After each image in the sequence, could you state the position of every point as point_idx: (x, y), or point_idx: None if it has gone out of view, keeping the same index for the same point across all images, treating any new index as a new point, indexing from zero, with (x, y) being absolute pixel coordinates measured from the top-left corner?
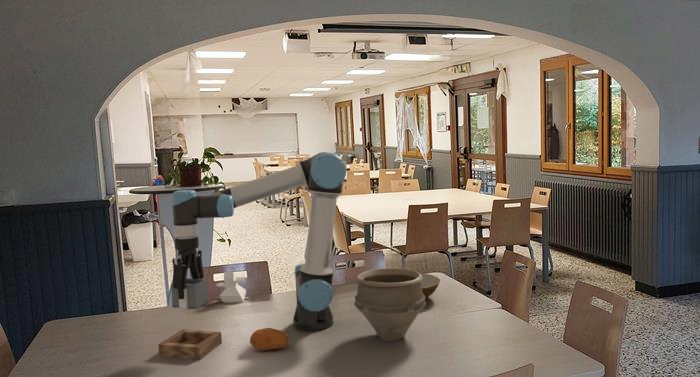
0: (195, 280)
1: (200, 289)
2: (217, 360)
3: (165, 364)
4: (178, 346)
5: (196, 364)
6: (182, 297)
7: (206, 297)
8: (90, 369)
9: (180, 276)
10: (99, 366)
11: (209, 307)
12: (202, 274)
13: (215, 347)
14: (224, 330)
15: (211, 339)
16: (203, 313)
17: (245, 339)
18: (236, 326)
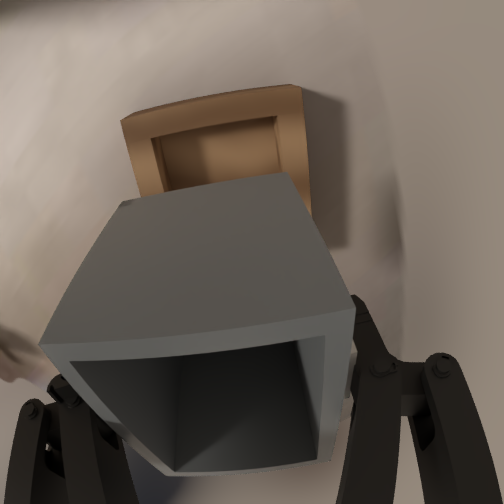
0: (128, 417)
1: (205, 263)
2: (275, 20)
3: (352, 175)
4: (309, 181)
5: (327, 73)
6: (357, 305)
7: (124, 218)
8: (394, 318)
9: (477, 469)
10: (381, 315)
11: (6, 341)
12: (28, 430)
13: (180, 101)
14: (51, 195)
15: (201, 100)
16: (28, 332)
17: (74, 60)
18: (13, 185)
